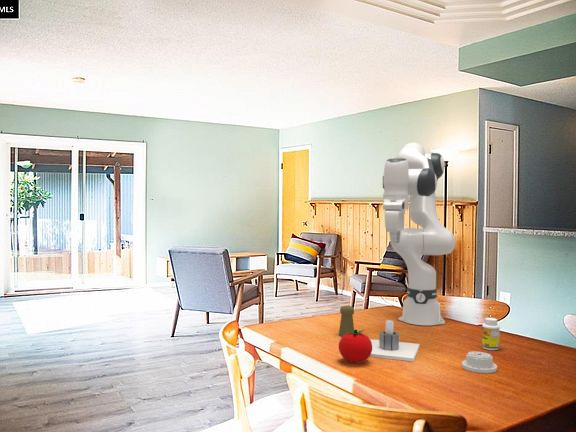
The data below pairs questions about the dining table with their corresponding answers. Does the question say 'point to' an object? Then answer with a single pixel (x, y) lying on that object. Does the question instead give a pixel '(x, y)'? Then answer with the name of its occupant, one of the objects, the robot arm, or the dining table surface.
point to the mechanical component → (479, 362)
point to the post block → (403, 353)
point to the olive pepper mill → (346, 320)
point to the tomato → (355, 346)
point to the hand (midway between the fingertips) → (395, 243)
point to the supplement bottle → (490, 334)
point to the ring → (389, 341)
